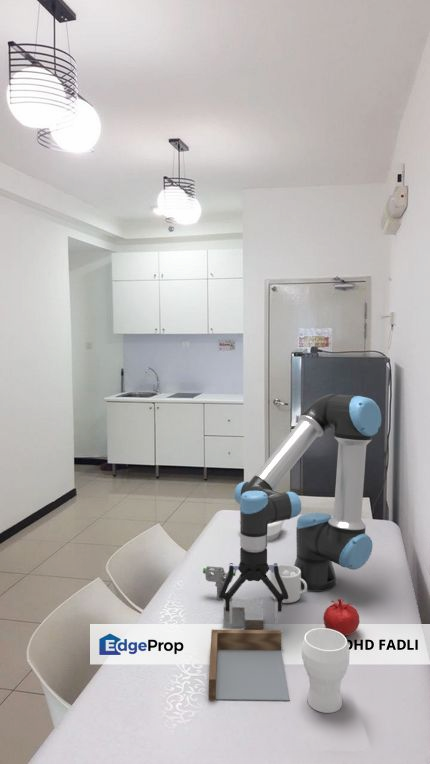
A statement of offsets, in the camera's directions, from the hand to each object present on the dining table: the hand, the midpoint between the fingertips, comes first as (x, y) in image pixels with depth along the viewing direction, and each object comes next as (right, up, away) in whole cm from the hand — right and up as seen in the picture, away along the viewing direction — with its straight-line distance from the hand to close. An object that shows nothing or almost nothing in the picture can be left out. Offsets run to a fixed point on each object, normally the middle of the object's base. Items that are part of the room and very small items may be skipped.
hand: (253, 622), depth 154 cm
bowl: (+9, +2, +73) cm, 73 cm away
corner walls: (-3, -5, -18) cm, 19 cm away
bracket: (-3, -3, +2) cm, 5 cm away
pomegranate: (+25, -3, +2) cm, 25 cm away
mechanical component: (-10, -2, +21) cm, 23 cm away
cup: (+14, -6, -29) cm, 33 cm away
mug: (+13, -2, +21) cm, 25 cm away
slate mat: (-2, -5, -19) cm, 19 cm away
